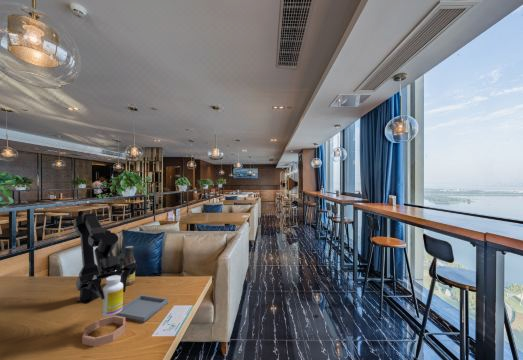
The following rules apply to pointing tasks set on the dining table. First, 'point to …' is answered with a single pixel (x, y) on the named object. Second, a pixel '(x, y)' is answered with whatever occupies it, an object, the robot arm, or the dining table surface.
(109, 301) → the supplement bottle
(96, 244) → the robot arm
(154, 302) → the tray
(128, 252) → the sauce bottle
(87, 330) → the holder ring
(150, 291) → the dining table surface
